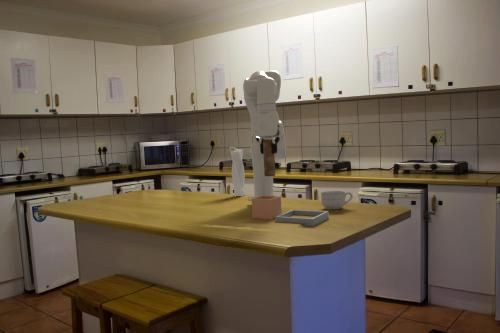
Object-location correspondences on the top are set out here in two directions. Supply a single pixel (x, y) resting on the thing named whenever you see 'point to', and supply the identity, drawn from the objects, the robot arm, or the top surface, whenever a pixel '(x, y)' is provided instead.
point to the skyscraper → (238, 172)
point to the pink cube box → (266, 207)
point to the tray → (306, 221)
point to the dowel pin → (268, 158)
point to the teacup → (334, 199)
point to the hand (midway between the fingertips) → (268, 153)
